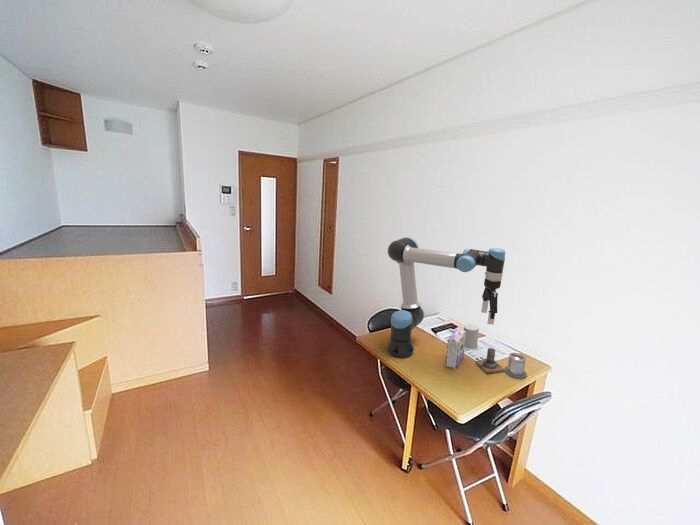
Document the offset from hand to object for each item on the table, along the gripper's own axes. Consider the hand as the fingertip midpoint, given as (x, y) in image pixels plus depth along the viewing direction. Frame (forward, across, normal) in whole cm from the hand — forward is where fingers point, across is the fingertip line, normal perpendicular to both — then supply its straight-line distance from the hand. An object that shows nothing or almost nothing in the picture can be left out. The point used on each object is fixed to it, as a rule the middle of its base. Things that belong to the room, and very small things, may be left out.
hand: (487, 318), depth 158 cm
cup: (+28, -19, -2) cm, 34 cm away
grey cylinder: (+26, +6, +16) cm, 31 cm away
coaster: (+26, +6, +16) cm, 31 cm away
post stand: (+27, +3, +4) cm, 27 cm away
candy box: (+28, +1, -13) cm, 31 cm away
